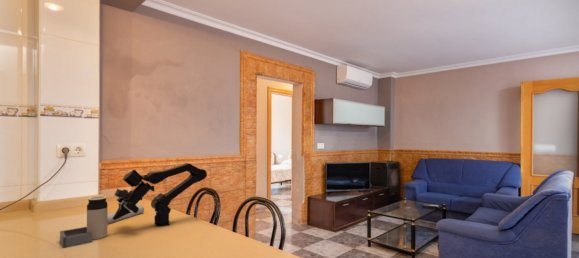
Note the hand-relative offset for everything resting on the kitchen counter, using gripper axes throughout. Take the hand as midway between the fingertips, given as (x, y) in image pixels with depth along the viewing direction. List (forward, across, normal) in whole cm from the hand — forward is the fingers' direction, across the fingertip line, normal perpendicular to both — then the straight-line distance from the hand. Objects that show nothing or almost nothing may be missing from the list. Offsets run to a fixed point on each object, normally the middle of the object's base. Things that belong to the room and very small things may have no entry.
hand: (113, 219), depth 143 cm
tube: (-2, -26, +12) cm, 29 cm away
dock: (+15, 0, -5) cm, 16 cm away
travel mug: (+10, 0, 0) cm, 10 cm away
